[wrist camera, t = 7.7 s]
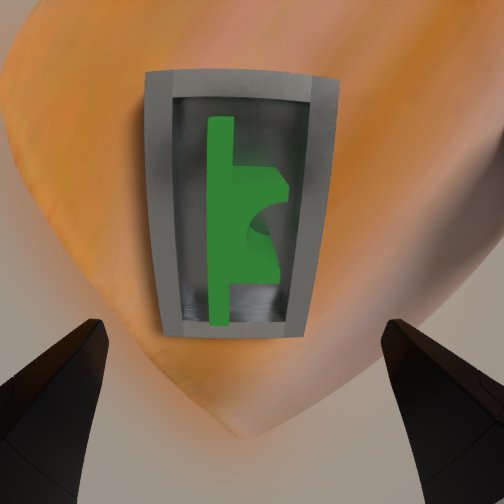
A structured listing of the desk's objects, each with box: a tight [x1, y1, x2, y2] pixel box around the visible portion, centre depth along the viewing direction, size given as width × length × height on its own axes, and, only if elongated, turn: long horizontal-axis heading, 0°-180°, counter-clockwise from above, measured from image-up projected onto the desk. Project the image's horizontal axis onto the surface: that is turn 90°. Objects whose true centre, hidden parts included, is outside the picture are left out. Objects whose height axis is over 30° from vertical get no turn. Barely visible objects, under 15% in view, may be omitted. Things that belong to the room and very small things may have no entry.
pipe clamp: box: [207, 116, 289, 326], centre depth 16 cm, size 11×4×5 cm, turn 177°
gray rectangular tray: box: [144, 69, 339, 338], centre depth 18 cm, size 10×17×3 cm, turn 177°
